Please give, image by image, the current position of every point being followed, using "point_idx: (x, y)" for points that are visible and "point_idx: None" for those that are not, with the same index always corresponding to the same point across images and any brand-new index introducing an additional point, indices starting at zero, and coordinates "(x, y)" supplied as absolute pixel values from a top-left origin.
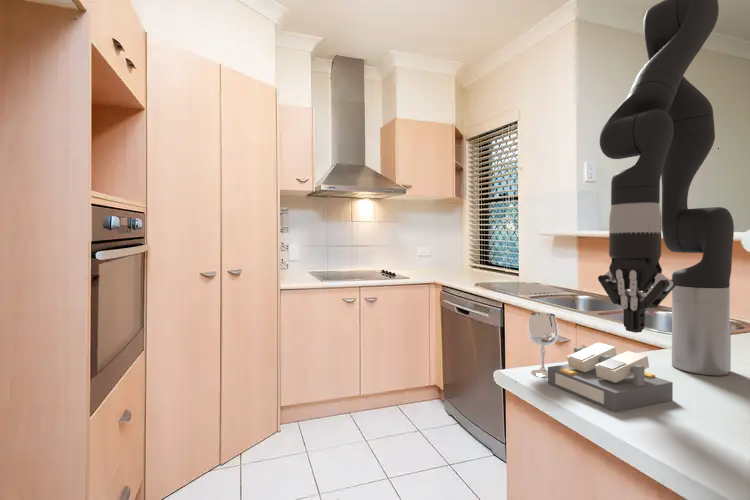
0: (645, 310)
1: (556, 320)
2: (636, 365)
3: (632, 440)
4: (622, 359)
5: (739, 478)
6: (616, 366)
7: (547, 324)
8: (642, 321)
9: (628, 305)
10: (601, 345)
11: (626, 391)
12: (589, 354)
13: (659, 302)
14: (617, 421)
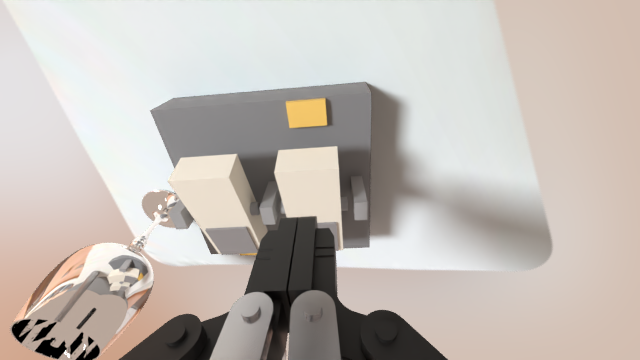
0: (339, 301)
1: (89, 307)
2: (356, 213)
3: (434, 262)
4: (311, 212)
5: (547, 237)
6: (335, 241)
7: (124, 325)
8: (335, 265)
9: (284, 357)
10: (196, 189)
11: (369, 225)
12: (241, 234)
13: (436, 358)
14: (389, 242)
